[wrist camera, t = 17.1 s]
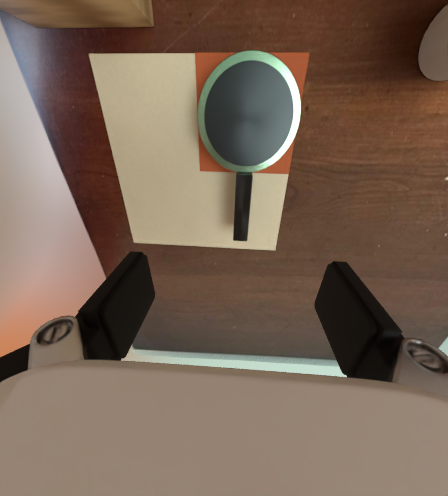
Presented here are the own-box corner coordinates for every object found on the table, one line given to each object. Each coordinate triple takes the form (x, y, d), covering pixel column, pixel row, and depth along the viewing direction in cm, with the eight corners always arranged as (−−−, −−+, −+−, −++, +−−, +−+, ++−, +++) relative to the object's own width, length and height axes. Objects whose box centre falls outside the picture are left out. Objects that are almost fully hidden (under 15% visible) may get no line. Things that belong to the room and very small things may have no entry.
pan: (275, 229, 28) (280, 243, 25) (205, 226, 29) (200, 239, 26) (303, 59, 19) (316, 44, 16) (200, 59, 20) (191, 45, 16)
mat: (135, 240, 32) (133, 243, 31) (92, 55, 21) (87, 52, 20) (274, 248, 31) (275, 250, 30) (307, 54, 20) (309, 52, 19)
